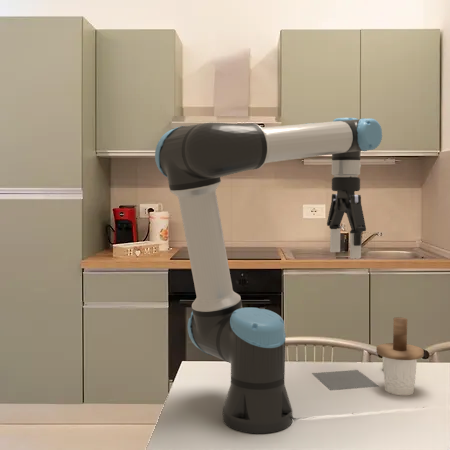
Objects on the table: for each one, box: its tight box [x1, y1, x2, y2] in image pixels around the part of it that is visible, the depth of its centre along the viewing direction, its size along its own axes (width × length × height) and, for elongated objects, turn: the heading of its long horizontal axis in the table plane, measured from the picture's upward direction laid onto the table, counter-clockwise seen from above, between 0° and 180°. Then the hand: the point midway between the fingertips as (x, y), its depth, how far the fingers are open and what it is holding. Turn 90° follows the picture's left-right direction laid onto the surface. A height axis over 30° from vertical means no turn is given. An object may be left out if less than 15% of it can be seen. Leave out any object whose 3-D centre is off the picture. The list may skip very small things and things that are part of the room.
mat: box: [311, 369, 380, 391], centre depth 151 cm, size 13×13×1 cm
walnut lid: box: [375, 316, 425, 360], centre depth 142 cm, size 11×11×8 cm
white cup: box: [382, 356, 418, 396], centre depth 143 cm, size 8×8×10 cm
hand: (344, 255), depth 159 cm, fingers open, 13 cm apart
